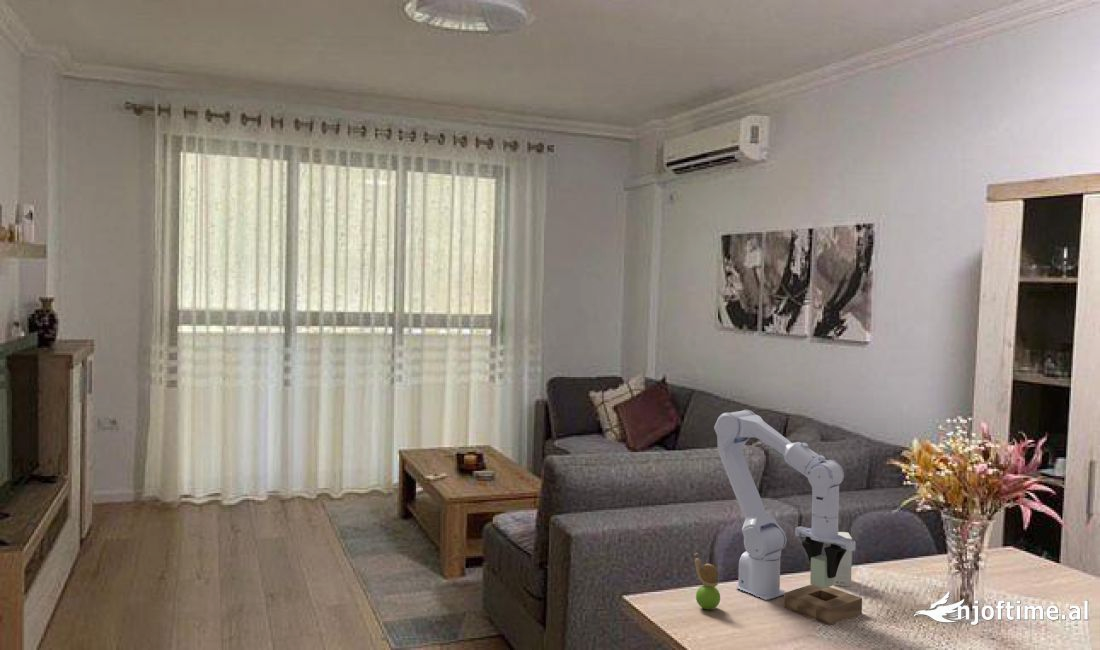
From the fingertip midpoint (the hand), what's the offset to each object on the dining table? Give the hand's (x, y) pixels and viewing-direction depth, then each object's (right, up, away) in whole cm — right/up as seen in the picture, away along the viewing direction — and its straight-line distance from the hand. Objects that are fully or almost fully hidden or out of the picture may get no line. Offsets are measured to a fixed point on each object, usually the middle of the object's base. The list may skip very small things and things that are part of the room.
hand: (823, 574), depth 185 cm
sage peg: (0, -2, 0) cm, 2 cm away
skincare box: (+11, -8, +19) cm, 24 cm away
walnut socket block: (0, -8, 0) cm, 8 cm away
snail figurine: (-26, -8, +1) cm, 28 cm away
